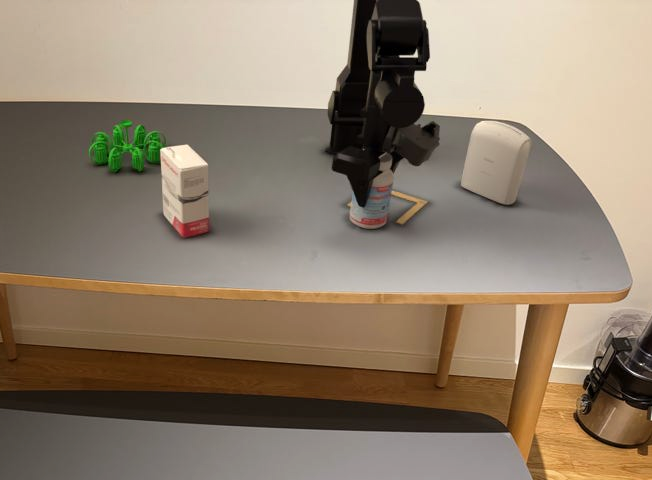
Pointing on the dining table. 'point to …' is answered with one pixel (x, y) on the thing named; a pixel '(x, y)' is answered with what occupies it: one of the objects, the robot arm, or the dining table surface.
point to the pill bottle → (375, 199)
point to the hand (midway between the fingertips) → (371, 199)
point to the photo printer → (496, 161)
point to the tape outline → (412, 211)
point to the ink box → (185, 190)
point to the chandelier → (127, 147)
